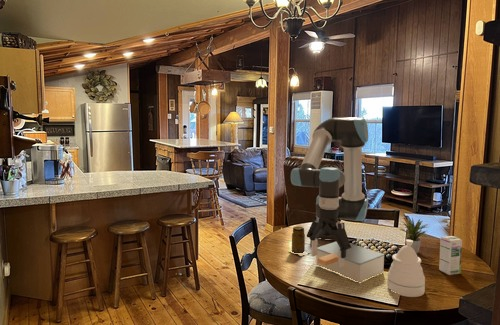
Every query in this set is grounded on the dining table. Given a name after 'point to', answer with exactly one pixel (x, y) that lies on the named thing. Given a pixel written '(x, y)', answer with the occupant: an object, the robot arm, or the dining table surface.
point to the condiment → (298, 240)
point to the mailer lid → (347, 254)
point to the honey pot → (406, 273)
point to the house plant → (414, 234)
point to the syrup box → (450, 255)
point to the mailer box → (355, 268)
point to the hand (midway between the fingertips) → (327, 260)
